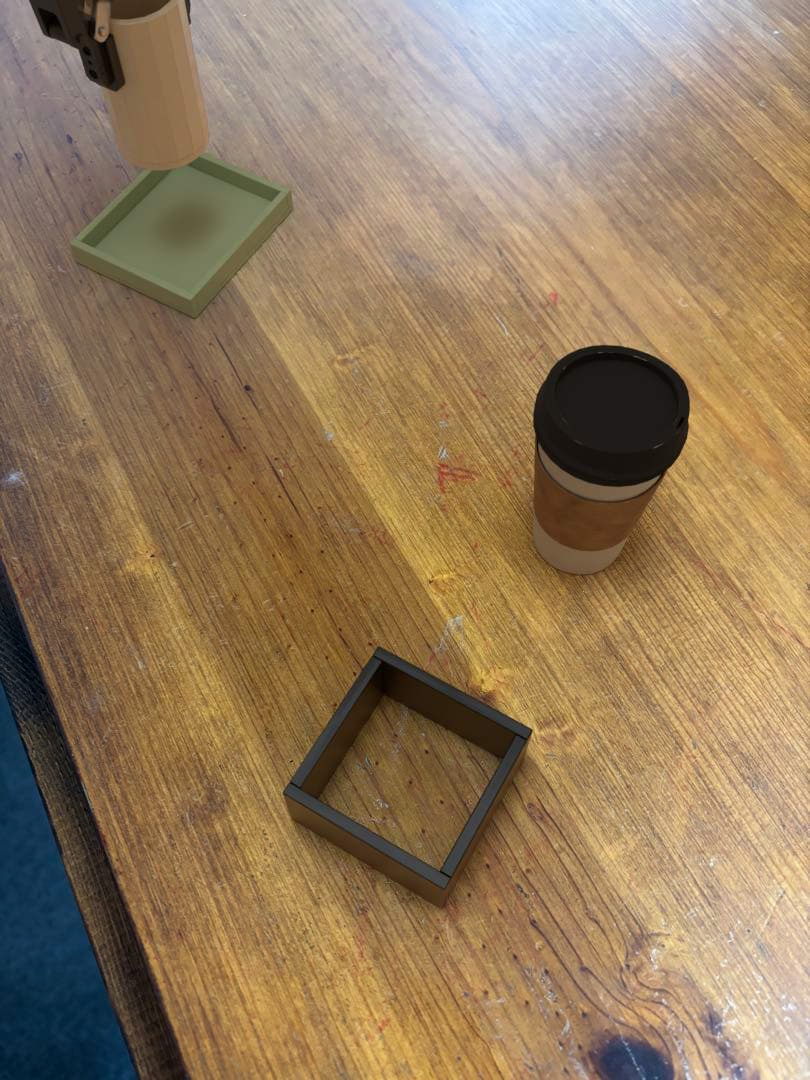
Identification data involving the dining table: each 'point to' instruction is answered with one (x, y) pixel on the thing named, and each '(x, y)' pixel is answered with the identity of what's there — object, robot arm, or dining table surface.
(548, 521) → the coffee cup
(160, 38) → the cup
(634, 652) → the dining table surface
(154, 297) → the tray
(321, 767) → the open square frame
